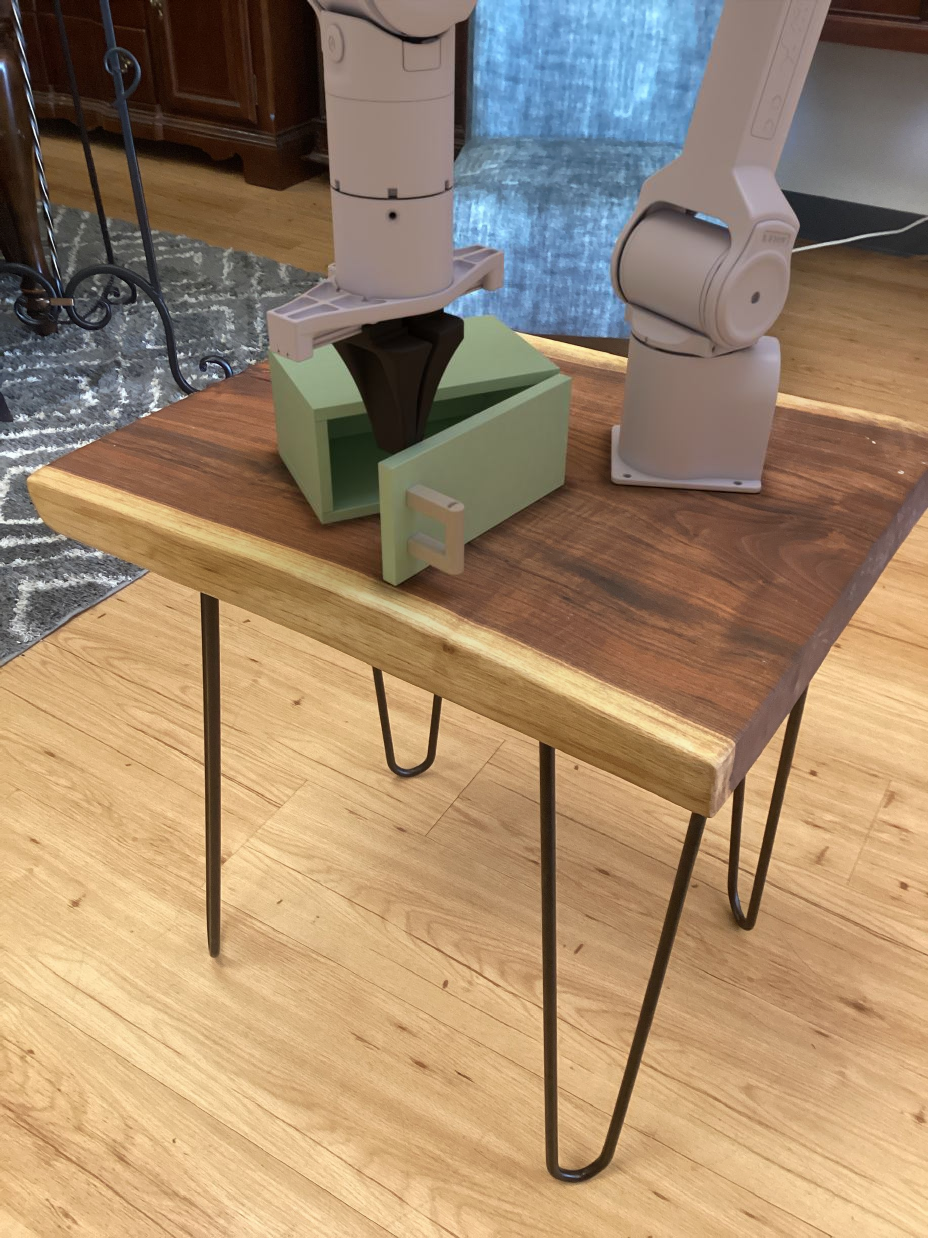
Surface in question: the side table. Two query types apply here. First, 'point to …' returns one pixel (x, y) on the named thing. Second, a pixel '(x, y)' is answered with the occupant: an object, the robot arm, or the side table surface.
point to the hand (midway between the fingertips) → (398, 449)
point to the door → (471, 479)
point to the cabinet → (340, 427)
